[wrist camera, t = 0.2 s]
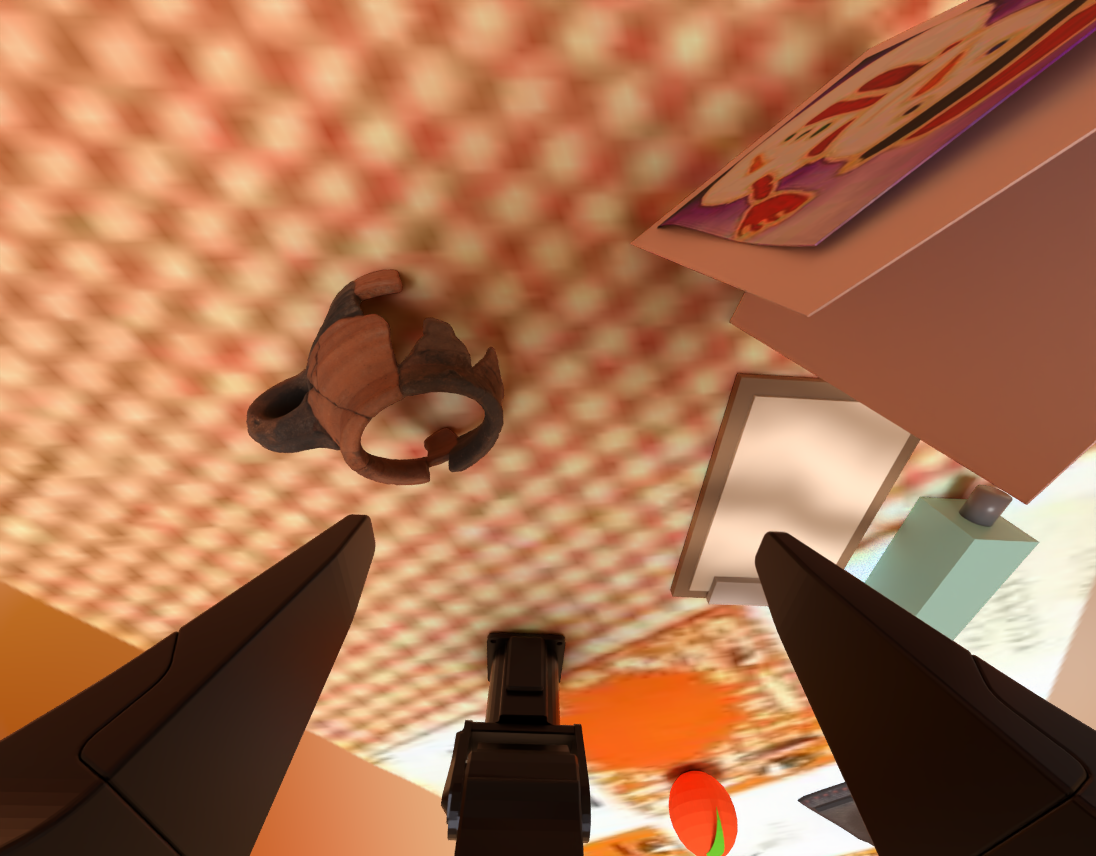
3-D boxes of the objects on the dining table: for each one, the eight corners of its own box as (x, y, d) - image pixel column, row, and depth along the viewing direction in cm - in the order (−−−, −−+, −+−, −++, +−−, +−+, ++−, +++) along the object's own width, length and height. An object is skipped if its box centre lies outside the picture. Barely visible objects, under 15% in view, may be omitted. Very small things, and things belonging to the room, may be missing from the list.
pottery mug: (442, 227, 20) (490, 326, 15) (495, 362, 27) (537, 455, 22) (198, 317, 19) (164, 454, 14) (324, 430, 26) (330, 544, 21)
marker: (893, 614, 33) (935, 664, 29) (844, 612, 33) (881, 662, 29) (994, 475, 26) (1064, 517, 23) (934, 472, 26) (996, 514, 23)
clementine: (669, 753, 44) (690, 843, 38) (731, 754, 44) (762, 843, 38) (656, 786, 48) (673, 872, 42) (714, 786, 48) (739, 873, 42)
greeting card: (862, 26, 16) (2440, -882, 3) (914, 196, 19) (1804, 166, 5) (620, 227, 19) (785, 270, 6) (695, 346, 22) (920, 551, 9)
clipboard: (819, 595, 32) (830, 610, 31) (670, 590, 31) (675, 604, 30) (940, 385, 23) (960, 394, 22) (737, 373, 23) (747, 382, 22)
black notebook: (800, 811, 49) (930, 770, 44) (792, 792, 50) (916, 749, 46) (867, 855, 56) (984, 823, 51) (857, 836, 57) (970, 803, 53)
